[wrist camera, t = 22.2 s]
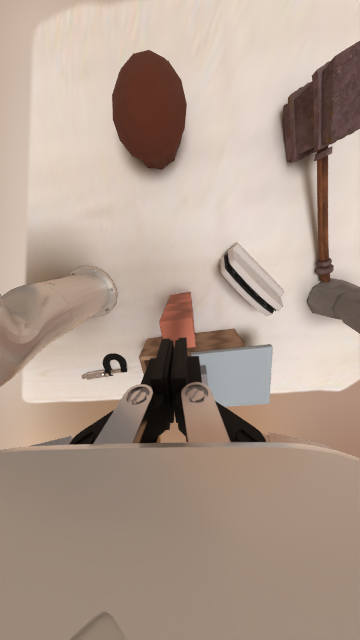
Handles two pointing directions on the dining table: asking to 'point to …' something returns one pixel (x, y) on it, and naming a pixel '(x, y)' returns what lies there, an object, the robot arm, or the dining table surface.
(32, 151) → the dining table surface
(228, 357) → the lid
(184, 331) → the peg
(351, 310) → the coffeepot
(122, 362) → the micrometer
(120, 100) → the muffin
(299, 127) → the hammer
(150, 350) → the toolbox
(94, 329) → the dining table surface
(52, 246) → the dining table surface
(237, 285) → the white curved piece
